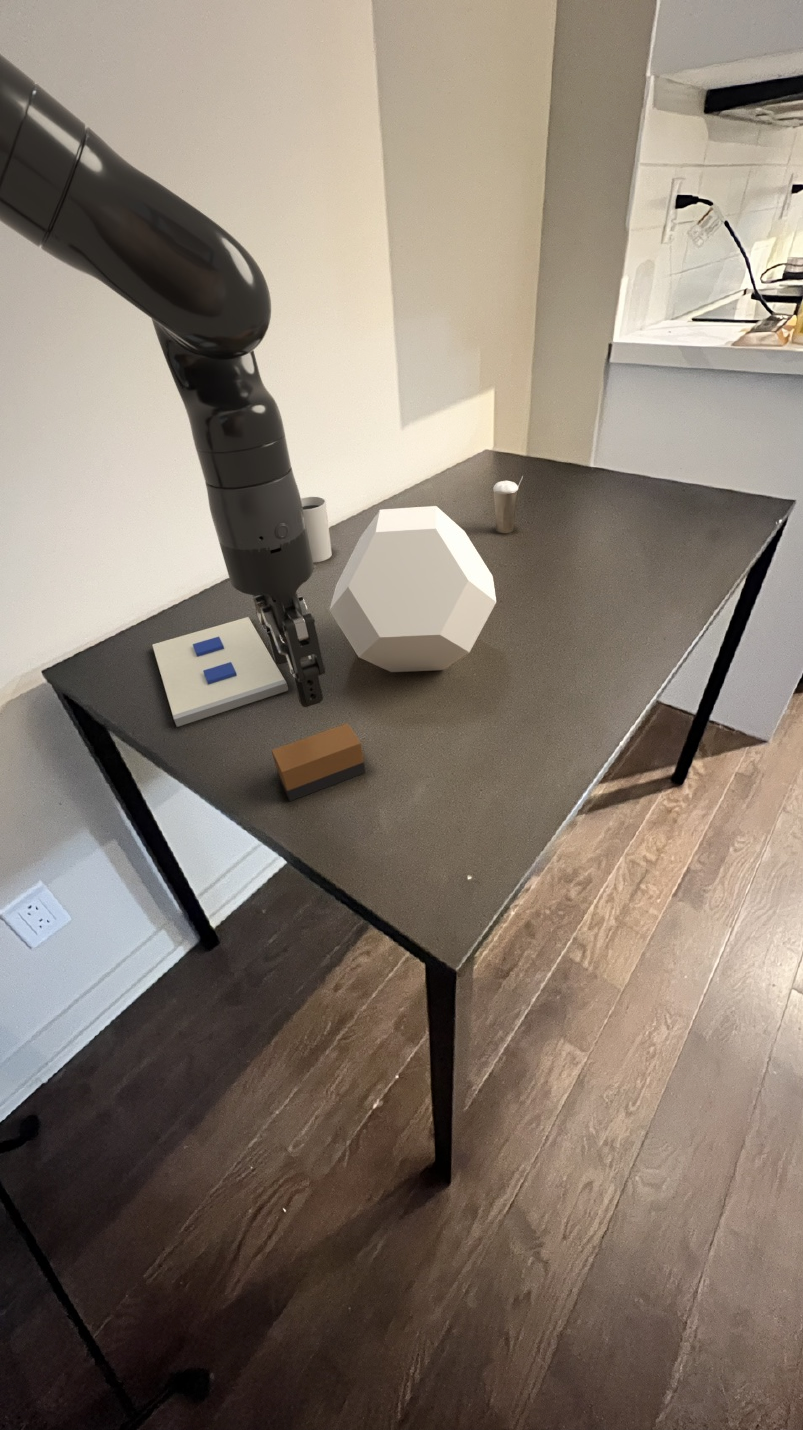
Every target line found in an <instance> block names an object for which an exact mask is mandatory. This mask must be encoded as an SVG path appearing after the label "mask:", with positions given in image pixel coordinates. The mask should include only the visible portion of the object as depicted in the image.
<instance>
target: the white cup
mask: <svg viewBox="0 0 803 1430" xmlns="http://www.w3.org/2000/svg"><path fill="white" fill-rule="evenodd" d="M300 498H301V502H302V508H303V513H304V518H305V523H306V528H307V533H308V538H309V544H310V549H311V554H312V559H313V564H314V563H320V562H323V561H326V560H328V559H330V558H331V557H332V554H333V553H332V543H331V536H330V535H331V534H330V528H329V519H328V508H327V500H326V499H325V498H324V497H321V496H303V497H300Z"/></svg>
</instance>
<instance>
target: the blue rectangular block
mask: <svg viewBox="0 0 803 1430" xmlns="http://www.w3.org/2000/svg"><path fill="white" fill-rule="evenodd" d="M203 672H204V675H205V678H206V680H207V683H208V684H212V683H215V682H218V681H221V680H224V679H228V678H231V677H234V676H237V674H236V671H235V669H234V667H233V665H232V663H231V662H229V663H226V664H223V665H219V666H216V667H213V668H210V669H206V670H203Z"/></svg>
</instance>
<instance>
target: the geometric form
mask: <svg viewBox="0 0 803 1430" xmlns="http://www.w3.org/2000/svg"><path fill="white" fill-rule="evenodd" d="M496 596H497V595H496V590H495V583H494V576H493V574H492V573H491V571H490V570H489V568H488V566H487V564H486V563H485V562H484V560H483V558H482V556H481V555H480V553H479V552H478V551H477V549H476V547H475V546H474V544H473V542H472V541H471V539H470V537H469V536H468V535H467V533H466V531H465V530H464V529H463V528H462V527H461V526H459V525H458V524H457V523H456V522H455V521H454V520H453V519H451V517H449V516H448V515H447V514H446V513H445V512H443V510H441V509H440V508H439V507H438V506H437V505H430V506H416V507H415V506H414V507H399V508H398V507H397V508H385V509H383V508H381V509H379V510H378V512H377V513H376V514H375V516H374V517H373V519H372V520H371V522H370V523H369V524H368V526H367V527H366V528H365V530H364V531H363V533H362V534H361V535H360V536H359V538H358V541H357V543H356V544H355V547H354V549H353V550H352V552H351V555H350V556H349V559H348V561H347V563H346V565H345V567H344V569H343V571H342V572H341V575H340V577H339V578H338V580H337V583H336V585H335V589H334V592H333V596H332V599H331V603H330V606H329V609H328V610H329V612H330V614H331V616H332V617H333V619H334V621H335V622H336V623H337V625H338V627H339V628H340V630H341V632H342V633H343V635H344V636H345V638H346V639H347V642H348V643H349V644H350V646H351V648H352V649H353V651H354V653H355V654H356V656H357V657H358V658H360V659H362V660H364V661H366V662H368V663H370V664H373V665H375V666H377V667H379V668H381V669H384V670H386V671H388V672H390V673H404V672H405V673H407V672H429V671H444V670H445V669H447V668H448V667H450V666H452V665H454V663H456V662H457V661H459V660H460V659H462V658H464V657H465V656H467V655H468V654H470V653H471V651H472V649H473V647H474V645H475V643H476V641H477V639H478V638H479V636H480V634H481V632H482V630H483V628H484V626H485V625H486V622H487V621H488V619H489V617H490V616H491V613H492V611H493V610H494V607H495V606H496V604H497V597H496Z"/></svg>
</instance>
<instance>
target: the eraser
mask: <svg viewBox="0 0 803 1430" xmlns="http://www.w3.org/2000/svg"><path fill="white" fill-rule="evenodd" d="M271 754H272V757H273V758H272V759H273V761H274V764H275V769H276V771H277V776H278V779H279V781H280V784H281V786H282V787H283V790H284V792H285V794H286V797H287V798H288V801H289V802H292V801H294V800H298V799H300V798H303V797H305V796H308V795H310V794H314V793H316V792H318V791H321V790H324V789H326V788H329V787H332V786H335V785H337V784H339V783H342V782H344V781H347V780H350V779H353V778H355V777H358V776H360V775H363V774H365V773H366V767H365V760H364V754H363V747H362V743H361V741H360V739H359V738H358V736H357V735H356V734H355V732H354V731H353V729H352V728H351V726H350V724H349V723H348V722H347V723H343V724H341V725H338V726H335V727H333V728H330V729H326V730H324V731H321V732H318V733H315V734H313V735H310V736H307V737H304V738H301V739H298V740H296V741H293V742H290V743H287V744H284V745H282V746H279V747H276V748H273V749H271Z"/></svg>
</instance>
